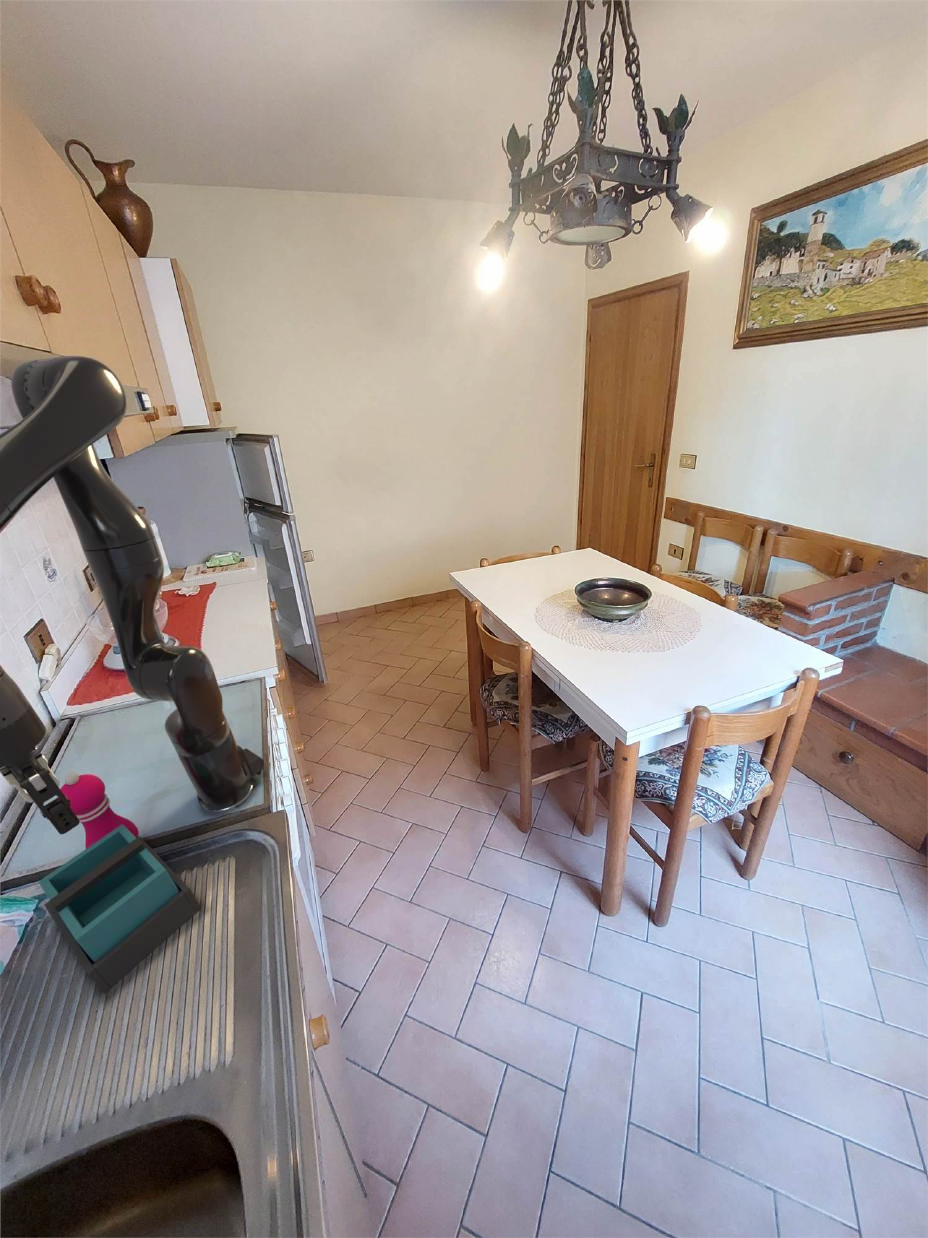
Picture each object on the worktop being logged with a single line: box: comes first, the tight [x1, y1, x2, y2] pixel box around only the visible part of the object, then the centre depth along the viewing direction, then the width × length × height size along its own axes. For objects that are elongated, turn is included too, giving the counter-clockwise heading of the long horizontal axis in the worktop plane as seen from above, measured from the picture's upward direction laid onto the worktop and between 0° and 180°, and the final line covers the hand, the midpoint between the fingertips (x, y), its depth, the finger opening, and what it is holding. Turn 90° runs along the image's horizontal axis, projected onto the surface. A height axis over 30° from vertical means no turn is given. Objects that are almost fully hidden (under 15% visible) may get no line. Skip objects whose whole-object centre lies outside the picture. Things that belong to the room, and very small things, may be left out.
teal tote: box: [37, 824, 179, 963], centre depth 72 cm, size 11×14×11 cm
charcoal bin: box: [43, 836, 202, 994], centre depth 74 cm, size 14×17×6 cm
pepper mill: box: [56, 772, 139, 849], centre depth 80 cm, size 7×7×20 cm
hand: (57, 813), depth 64 cm, fingers open, 8 cm apart
